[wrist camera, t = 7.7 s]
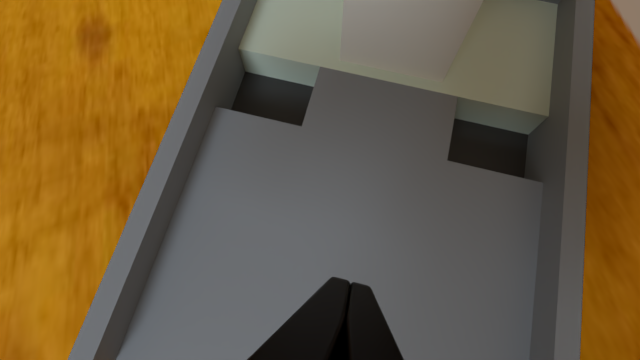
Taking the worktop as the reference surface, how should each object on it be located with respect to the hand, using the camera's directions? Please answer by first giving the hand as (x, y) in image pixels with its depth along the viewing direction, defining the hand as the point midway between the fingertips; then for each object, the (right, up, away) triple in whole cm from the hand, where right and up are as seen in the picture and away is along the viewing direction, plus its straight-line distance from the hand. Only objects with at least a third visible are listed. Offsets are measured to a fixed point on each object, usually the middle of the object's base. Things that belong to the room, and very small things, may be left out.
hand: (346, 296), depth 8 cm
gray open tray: (+2, +3, +15) cm, 16 cm away
